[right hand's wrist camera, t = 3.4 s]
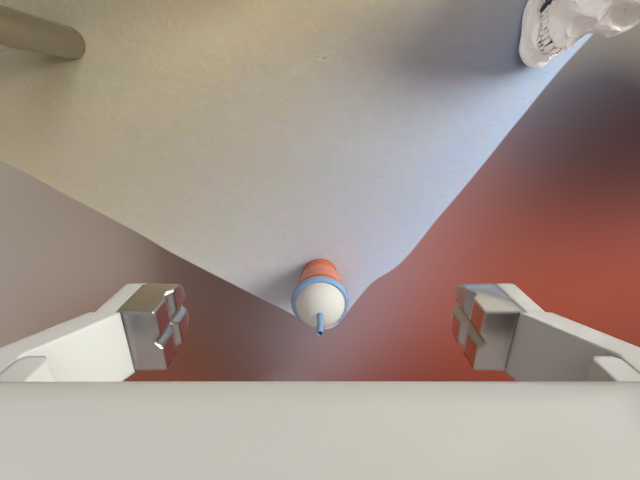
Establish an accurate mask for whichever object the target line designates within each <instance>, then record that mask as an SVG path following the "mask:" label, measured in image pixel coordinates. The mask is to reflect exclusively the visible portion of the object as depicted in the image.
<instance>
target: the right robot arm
mask: <svg viewBox="0 0 640 480" xmlns="http://www.w3.org/2000/svg"><path fill="white" fill-rule="evenodd" d="M184 299H185V294H184V289H183V287H182V286H181V285H180V284H145V283H138V284H126V285H125V286H124V287H123V288H121V289H120V290H119V291H118V292H117V293H116V294H115V295H114V296H112V297H111V298H110V299H109V300H108V301H107V302H106V303H105V304H103V305H102V306H101V307H100V308H99V309H98V310H97V311H96V312H89V313H86V314H84V315H81V316H79V317H76V318H74V319H71V320H69V321H66V322H64V323H61V324H59V325H56V326H54V327H51V328H48V329H46V330H43V331H41V332H39V333H36V334H33V335H31V336H28V337H26V338H23V339H21V340H18V341H16V342H13V343H11V344H8V345H6V346H3V347H1V348H0V480H640V348H639V347H637V346H634V345H632V344H629V343H627V342H624V341H622V340H619V339H617V338H614V337H611V336H609V335H606V334H604V333H601V332H599V331H596V330H594V329H591V328H589V327H586V326H584V325H581V324H579V323H576V322H574V321H571V320H569V319H566V318H564V317H561V316H559V315H556V314H554V313H550V312H544V311H543V310H542V309H541V308H540V307H539V306H538V305H537V304H535V303H534V302H533V301H532V300H531V299H530V298H529V297H528V296H527V295H525V294H524V293H523V292H522V291H521V290H520V289H519V288H518V287H517V286H515V285H514V284H511V283H503V284H462V285H458V287H457V289H456V293H455V299H456V301H457V302H458V304H459V305H458V306H457V307H456V308H455V309H454V310H453V311H452V318H451V324H452V331H453V335H454V337H455V339H456V341H457V342H458V343H459V344H461V345H463V346H464V347H465V348H464V354H465V356H466V358H467V359H468V361H469V363H470V365H471V366H472V368H473V369H474V370H504V371H505V372H506V373H507V374H509V375H510V376H511V377H513V378H514V379H515V380H517V381H205V382H204V381H158V382H157V381H138V382H137V381H123V380H125V379H126V378H127V377H129V376H130V375H131V374H133V373H134V372H135V371H136V370H166V369H167V368H168V366H169V365H170V363H171V361H172V359H173V358H174V356H175V354H176V348H175V347H176V346H177V345H179V344H181V343H182V342H183V341H184V339H185V337H186V335H187V331H188V327H189V317H188V311H187V310H186V309H185V308H184V307H183V306H182V305H181V304H182V302H183V301H184Z"/></svg>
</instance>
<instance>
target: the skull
mask: <svg viewBox="0 0 640 480" xmlns="http://www.w3.org/2000/svg"><path fill="white" fill-rule="evenodd" d="M545 1H546V0H528V2H527V4H526V6H525V9H524V14H523V19H522V31H521V39H520V44H519V53H520V57H521V59H522V61H523V62H524V63H525V64H526V65H528V66H530V67H541V66H544V65H546V64H547V63H548V62H549V61H550V60H551V59H552V58H553V57H555V56H557V55H559V54H560V53H561V52H563V51H565V50H567V49H568V48H569V47H571V46H572V45H573V44H574V43H575V42H577V41H578V40H579V39H580V38H582V37H583V36H584V35H586V34H588V33H593V32H598V33H600V34H602V35H604V36H605V37H607V38H609V37H613V36H616V35H618V34H620V33H623V32H625V31H626V30H628V29H630V28H632V27H634V26H635V25H637V24H638V23H640V0H553V1H552V2H551V4H550V5H548V6H547V7H546V8H545V10H544V11H543V12H542V13H541V12H540V9H541V7H542V6H543V4H544V3H545ZM541 23H542V24H541ZM546 27H547V29H545V28H546ZM541 29H542V30H541ZM544 29H545V30H544ZM547 31H548V32H547ZM546 32H547V33H546ZM540 34H541V35H540ZM539 35H540V36H539ZM549 36H550V37H551V38H550V37H549ZM547 37H548V38H547ZM546 38H547V39H546ZM544 39H545V40H544ZM551 39H552V41H553V42H552V43H551V44H549V45H548V46H546V47H545V45H546V44H548V43H549V42H550V40H551ZM541 40H544V41H542V42H541V43H540V41H541ZM541 44H542V45H543V46H542V47H541ZM553 47H555V48H553ZM552 48H553V49H552ZM542 49H544V50H542Z"/></svg>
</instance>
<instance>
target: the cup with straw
mask: <svg viewBox="0 0 640 480" xmlns="http://www.w3.org/2000/svg"><path fill="white" fill-rule="evenodd" d="M291 304H292V309H293V312H294V314H295V315H296V317H297V318H298V319H299V320H300V321H301V322H303V323H304V324H306V325H308V326H311V327H315V328H317V335H318V336H322V335H323V328H325V327H329V326H332V325H334V324H336V323H337V322H339V321H340V320H341V319H342V318H343V317H344V315H345V314H346V312H347V309H348V304H349V300H348V295H347V292H346V290H345V288H344V287H343V286H342V284H341V281H340V278H339V275H338V273H337V272H336V269H335V267H334V265H333V264H332V263H330V262H329V261H327V260H324V259H316V260H313V261H311V262H310V263H308V264H307V265H306V267H305V269H304V272H303V273H302V275H301V278H300V281H299V284H298V286H297V287H296V288H295V290H294V292H293V295H292V299H291Z"/></svg>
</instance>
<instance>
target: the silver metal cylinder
mask: <svg viewBox="0 0 640 480" xmlns="http://www.w3.org/2000/svg"><path fill="white" fill-rule="evenodd" d="M0 45H1V46H6V47H12V48H17V49H22V50H27V51H32V52H37V53H42V54H47V55H52V56H57V57H63V58H68V59H78V58H80V57H81V56H82V55H83V54H84V51H85V43H84V40H83V38H82V36H81V35H80V34H79V33H78V32H77V31H76V30H75V29H73V28H71V27H68V26H65V25H61V24H58V23H55V22H52V21H49V20H46V19H43V18H40V17H37V16H33V15H30V14H27V13H24V12H21V11H18V10H15V9H12V8H9V7H6V6H2V5H0Z"/></svg>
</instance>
